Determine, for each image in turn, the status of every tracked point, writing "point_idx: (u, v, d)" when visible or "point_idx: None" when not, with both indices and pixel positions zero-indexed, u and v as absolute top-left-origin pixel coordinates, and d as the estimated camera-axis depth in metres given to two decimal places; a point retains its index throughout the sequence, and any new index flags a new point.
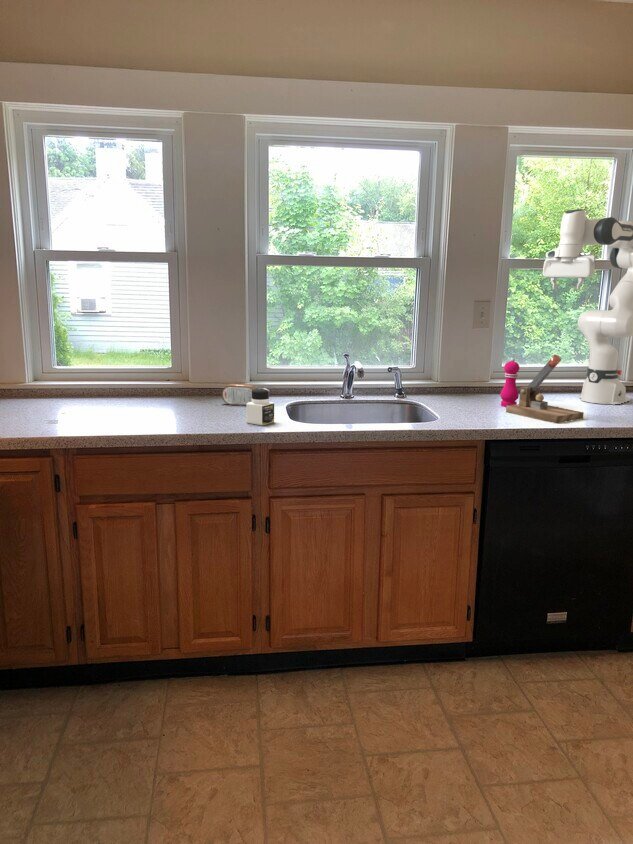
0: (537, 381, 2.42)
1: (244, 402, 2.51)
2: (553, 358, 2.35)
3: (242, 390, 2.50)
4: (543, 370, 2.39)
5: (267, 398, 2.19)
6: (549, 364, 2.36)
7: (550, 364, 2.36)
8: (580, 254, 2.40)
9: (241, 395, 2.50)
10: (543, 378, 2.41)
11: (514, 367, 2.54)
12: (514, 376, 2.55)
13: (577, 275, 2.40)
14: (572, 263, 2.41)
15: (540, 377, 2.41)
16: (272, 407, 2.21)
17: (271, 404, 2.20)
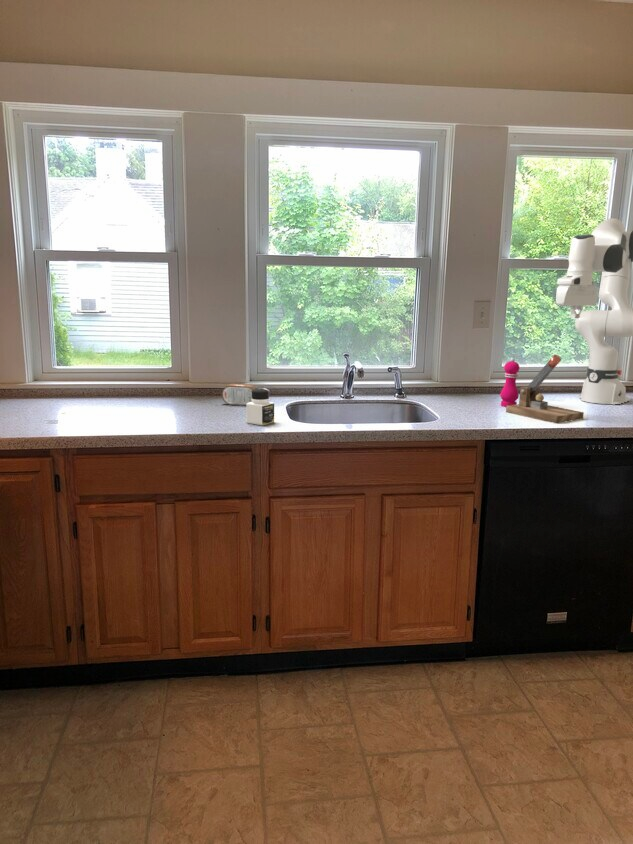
0: (537, 381, 2.42)
1: (244, 402, 2.51)
2: (553, 358, 2.35)
3: (242, 390, 2.50)
4: (543, 370, 2.39)
5: (267, 398, 2.19)
6: (549, 364, 2.36)
7: (550, 364, 2.36)
8: None
9: (241, 395, 2.50)
10: (543, 378, 2.41)
11: (514, 367, 2.54)
12: (514, 376, 2.55)
13: (589, 303, 2.35)
14: (586, 291, 2.33)
15: (540, 377, 2.41)
16: (272, 407, 2.21)
17: (271, 404, 2.20)
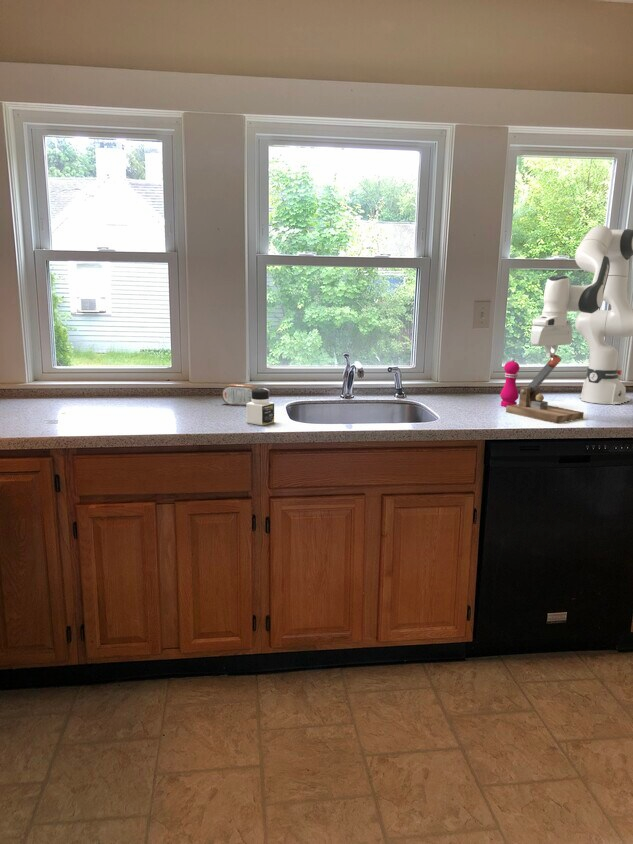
0: (537, 381, 2.42)
1: (244, 402, 2.51)
2: (553, 358, 2.35)
3: (242, 390, 2.50)
4: (543, 370, 2.39)
5: (267, 398, 2.19)
6: (549, 364, 2.36)
7: (550, 364, 2.36)
8: None
9: (241, 395, 2.50)
10: (543, 378, 2.41)
11: (514, 367, 2.54)
12: (514, 376, 2.55)
13: (564, 343, 2.38)
14: (560, 331, 2.35)
15: (540, 377, 2.41)
16: (272, 407, 2.21)
17: (271, 404, 2.20)
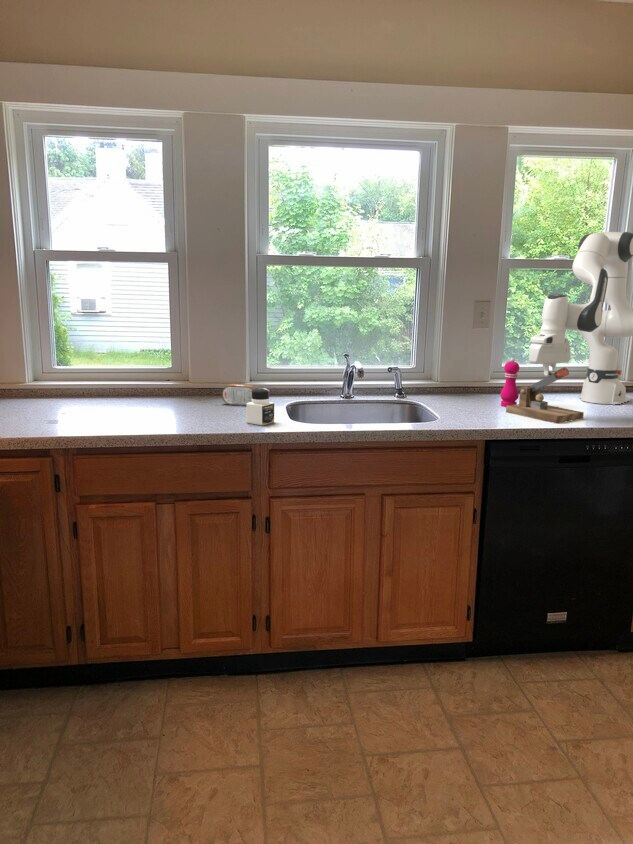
0: (539, 386, 2.41)
1: (244, 402, 2.51)
2: (561, 371, 2.32)
3: (242, 390, 2.50)
4: (548, 378, 2.38)
5: (267, 398, 2.19)
6: (556, 375, 2.34)
7: (557, 375, 2.34)
8: None
9: (241, 395, 2.50)
10: (546, 385, 2.40)
11: (514, 367, 2.54)
12: (514, 376, 2.55)
13: (562, 361, 2.39)
14: (558, 349, 2.36)
15: (543, 383, 2.40)
16: (272, 407, 2.21)
17: (271, 404, 2.20)
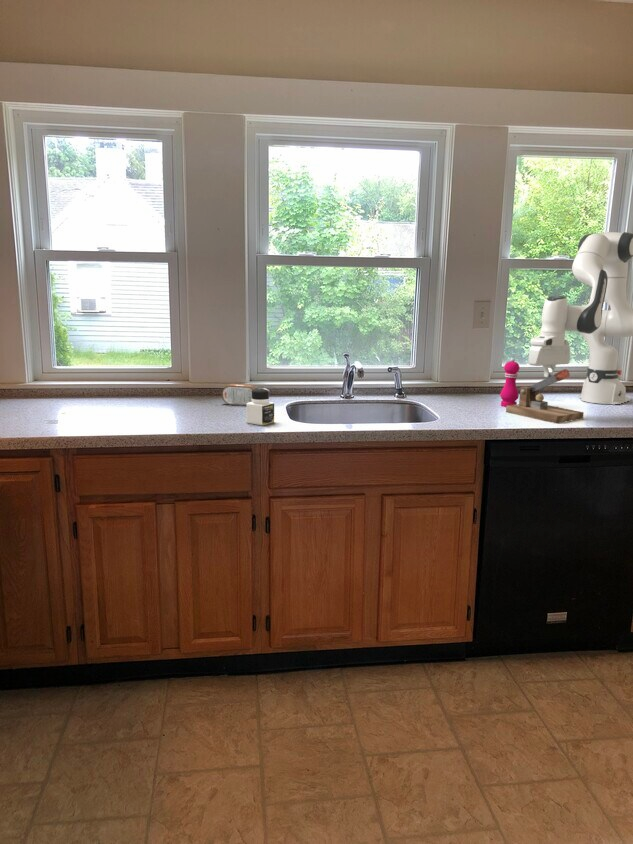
0: (539, 386, 2.41)
1: (244, 402, 2.51)
2: (562, 373, 2.32)
3: (242, 390, 2.50)
4: (549, 379, 2.38)
5: (267, 398, 2.19)
6: (556, 377, 2.34)
7: (557, 377, 2.34)
8: None
9: (241, 395, 2.50)
10: (546, 385, 2.40)
11: (514, 367, 2.54)
12: (514, 376, 2.55)
13: (562, 362, 2.39)
14: (558, 351, 2.37)
15: (544, 384, 2.40)
16: (272, 407, 2.21)
17: (271, 404, 2.20)
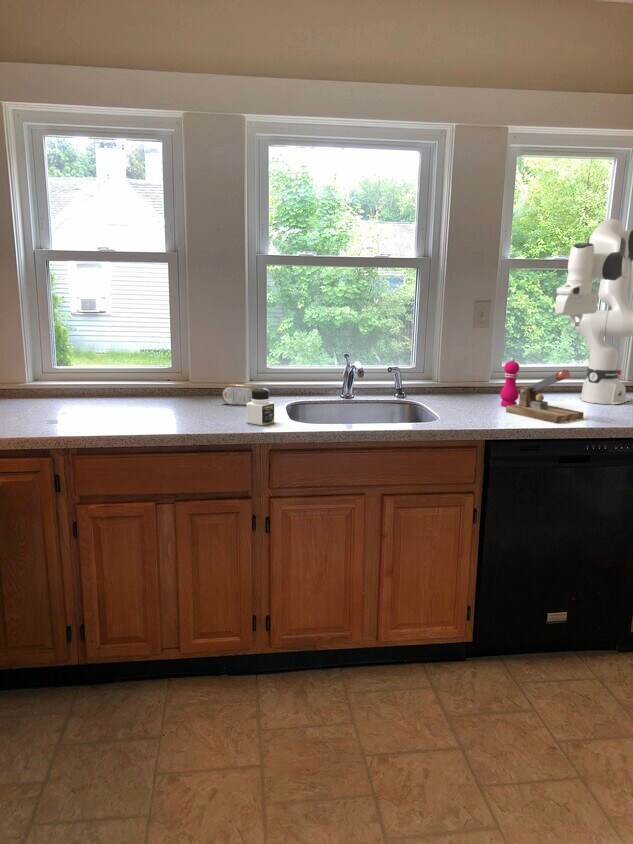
0: (539, 386, 2.41)
1: (244, 402, 2.51)
2: (562, 373, 2.32)
3: (242, 390, 2.50)
4: (549, 379, 2.38)
5: (267, 398, 2.19)
6: (556, 377, 2.34)
7: (557, 377, 2.34)
8: None
9: (241, 395, 2.50)
10: (546, 385, 2.40)
11: (514, 367, 2.54)
12: (514, 376, 2.55)
13: (589, 311, 2.35)
14: (585, 299, 2.33)
15: (544, 384, 2.40)
16: (272, 407, 2.21)
17: (271, 404, 2.20)
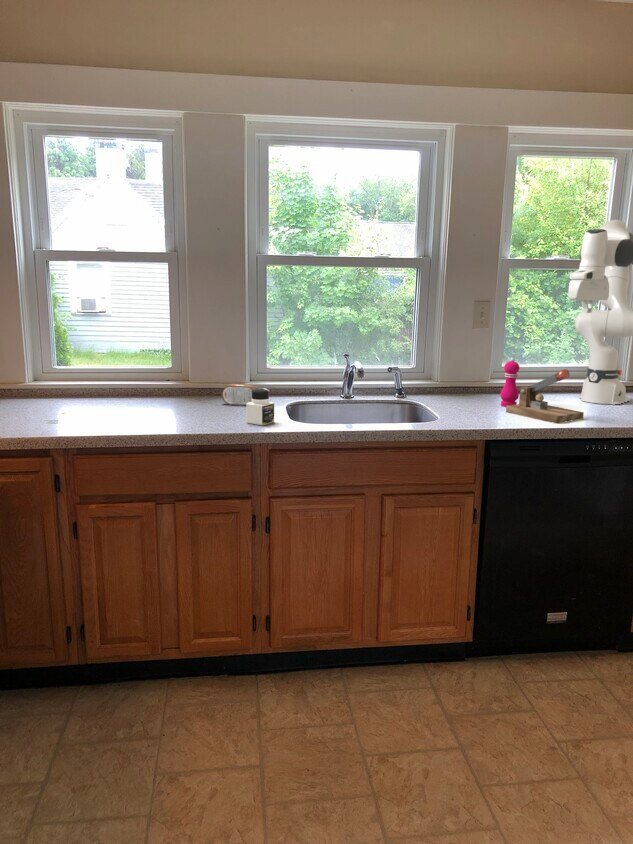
0: (539, 386, 2.41)
1: (244, 402, 2.51)
2: (562, 373, 2.32)
3: (242, 390, 2.50)
4: (549, 379, 2.38)
5: (267, 398, 2.19)
6: (556, 377, 2.34)
7: (557, 377, 2.34)
8: None
9: (241, 395, 2.50)
10: (546, 385, 2.40)
11: (514, 367, 2.54)
12: (514, 376, 2.55)
13: (601, 298, 2.35)
14: (598, 286, 2.33)
15: (544, 384, 2.40)
16: (272, 407, 2.21)
17: (271, 404, 2.20)
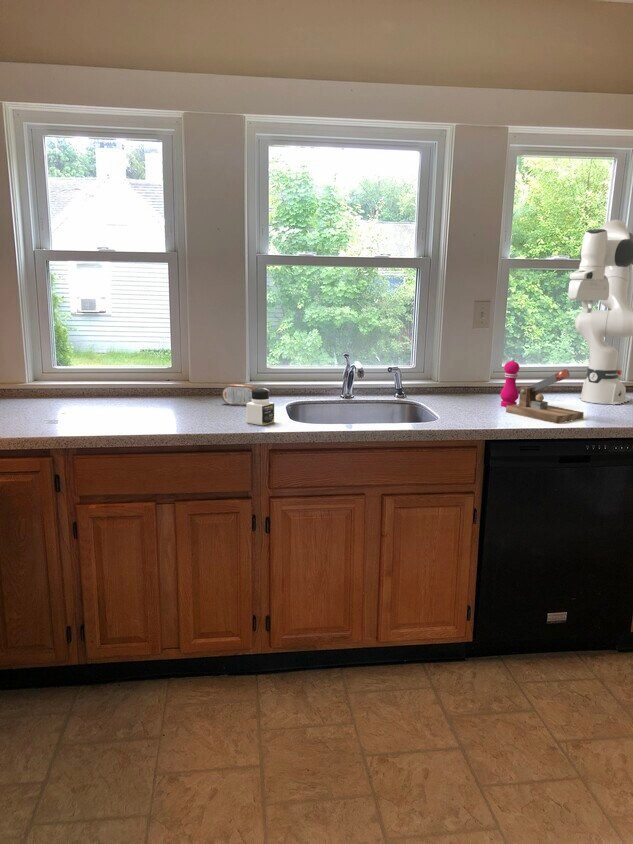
0: (539, 386, 2.41)
1: (244, 402, 2.51)
2: (562, 373, 2.32)
3: (242, 390, 2.50)
4: (549, 379, 2.38)
5: (267, 398, 2.19)
6: (556, 377, 2.34)
7: (557, 377, 2.34)
8: None
9: (241, 395, 2.50)
10: (546, 385, 2.40)
11: (514, 367, 2.54)
12: (514, 376, 2.55)
13: (601, 298, 2.35)
14: (598, 286, 2.33)
15: (544, 384, 2.40)
16: (272, 407, 2.21)
17: (271, 404, 2.20)
